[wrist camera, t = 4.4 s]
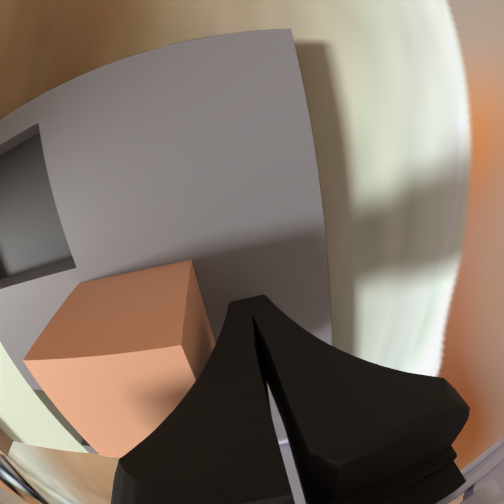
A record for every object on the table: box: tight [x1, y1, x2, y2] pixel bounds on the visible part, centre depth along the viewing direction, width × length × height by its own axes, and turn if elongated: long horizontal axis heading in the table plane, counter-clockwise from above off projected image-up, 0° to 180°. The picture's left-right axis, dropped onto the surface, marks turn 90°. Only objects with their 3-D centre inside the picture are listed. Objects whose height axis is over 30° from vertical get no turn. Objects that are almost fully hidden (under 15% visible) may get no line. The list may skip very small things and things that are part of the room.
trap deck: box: [0, 29, 332, 456], centre depth 10 cm, size 19×26×4 cm
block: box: [23, 260, 216, 457], centre depth 8 cm, size 4×4×4 cm
